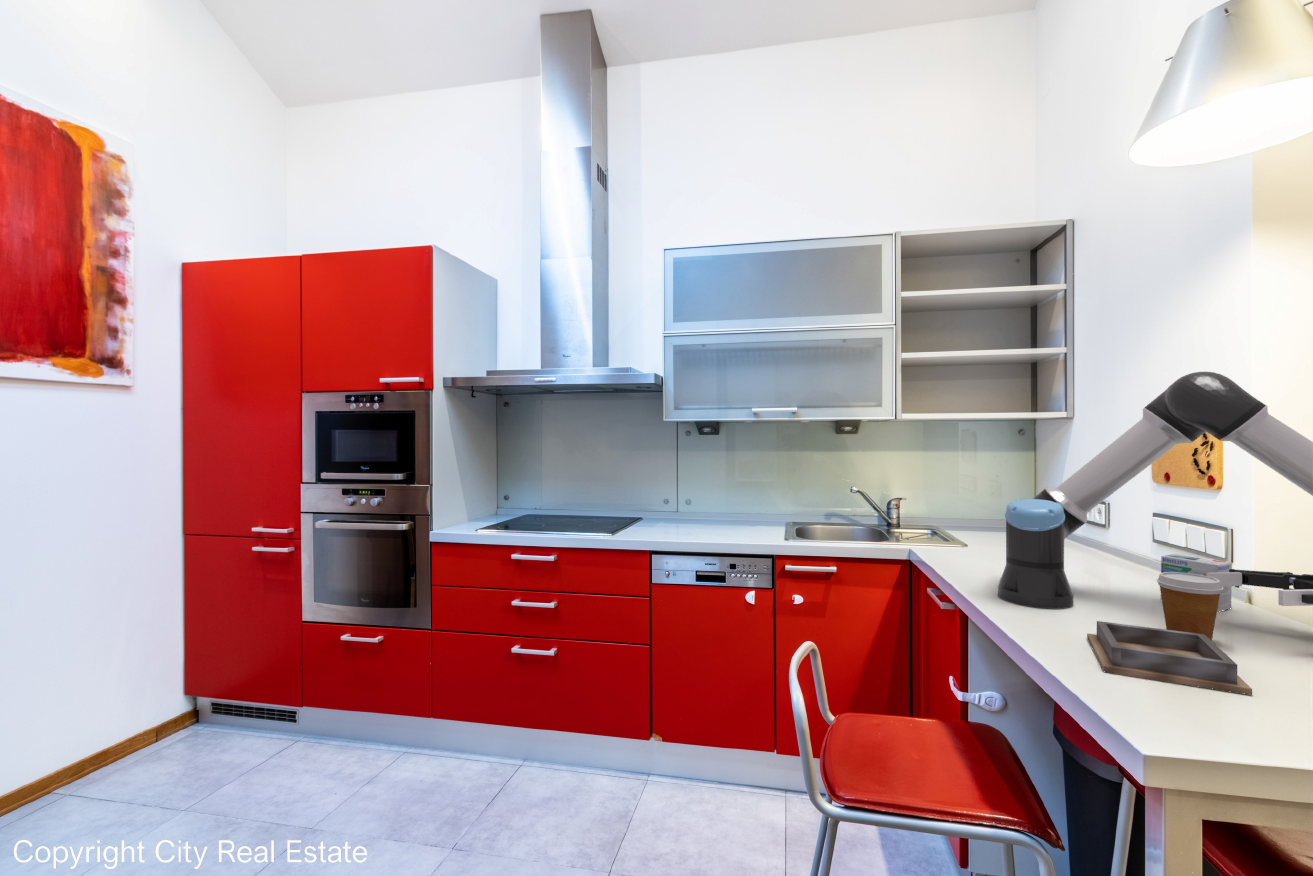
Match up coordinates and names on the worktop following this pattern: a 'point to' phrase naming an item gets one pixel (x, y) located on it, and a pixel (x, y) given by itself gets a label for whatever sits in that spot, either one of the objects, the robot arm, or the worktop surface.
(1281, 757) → the worktop surface
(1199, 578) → the disposable coffee cup
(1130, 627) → the cup holder plate
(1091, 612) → the worktop surface
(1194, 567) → the light bulb box
